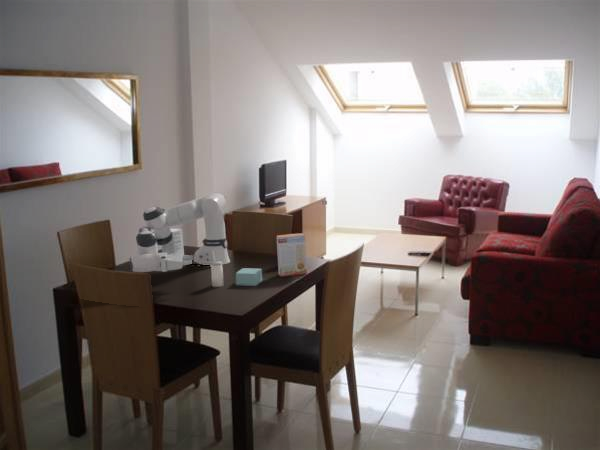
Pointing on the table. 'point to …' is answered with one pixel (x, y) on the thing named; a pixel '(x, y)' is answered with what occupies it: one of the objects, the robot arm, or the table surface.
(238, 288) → the table surface
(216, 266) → the canister
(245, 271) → the plinth
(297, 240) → the cracker box
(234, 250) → the table surface
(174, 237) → the white carton
